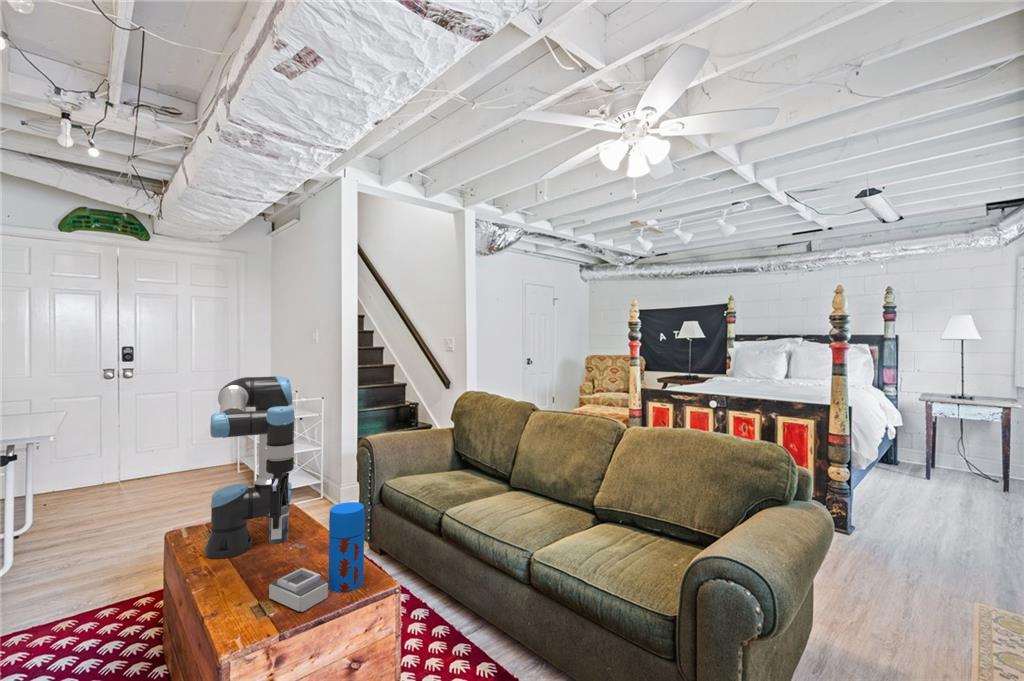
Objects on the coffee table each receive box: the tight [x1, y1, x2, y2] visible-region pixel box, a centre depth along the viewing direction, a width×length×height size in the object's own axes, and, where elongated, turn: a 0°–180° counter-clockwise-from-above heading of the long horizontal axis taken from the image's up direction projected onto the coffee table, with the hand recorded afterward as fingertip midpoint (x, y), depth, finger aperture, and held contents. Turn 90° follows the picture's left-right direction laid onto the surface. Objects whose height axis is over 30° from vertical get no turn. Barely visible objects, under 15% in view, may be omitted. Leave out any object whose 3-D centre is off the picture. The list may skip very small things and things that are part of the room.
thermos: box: [327, 501, 366, 594], centre depth 151 cm, size 11×11×25 cm
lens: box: [268, 505, 290, 545], centre depth 140 cm, size 6×6×10 cm
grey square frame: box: [268, 567, 329, 613], centre depth 142 cm, size 15×10×7 cm, turn 61°
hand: (278, 534), depth 140 cm, fingers closed on lens, 6 cm apart
